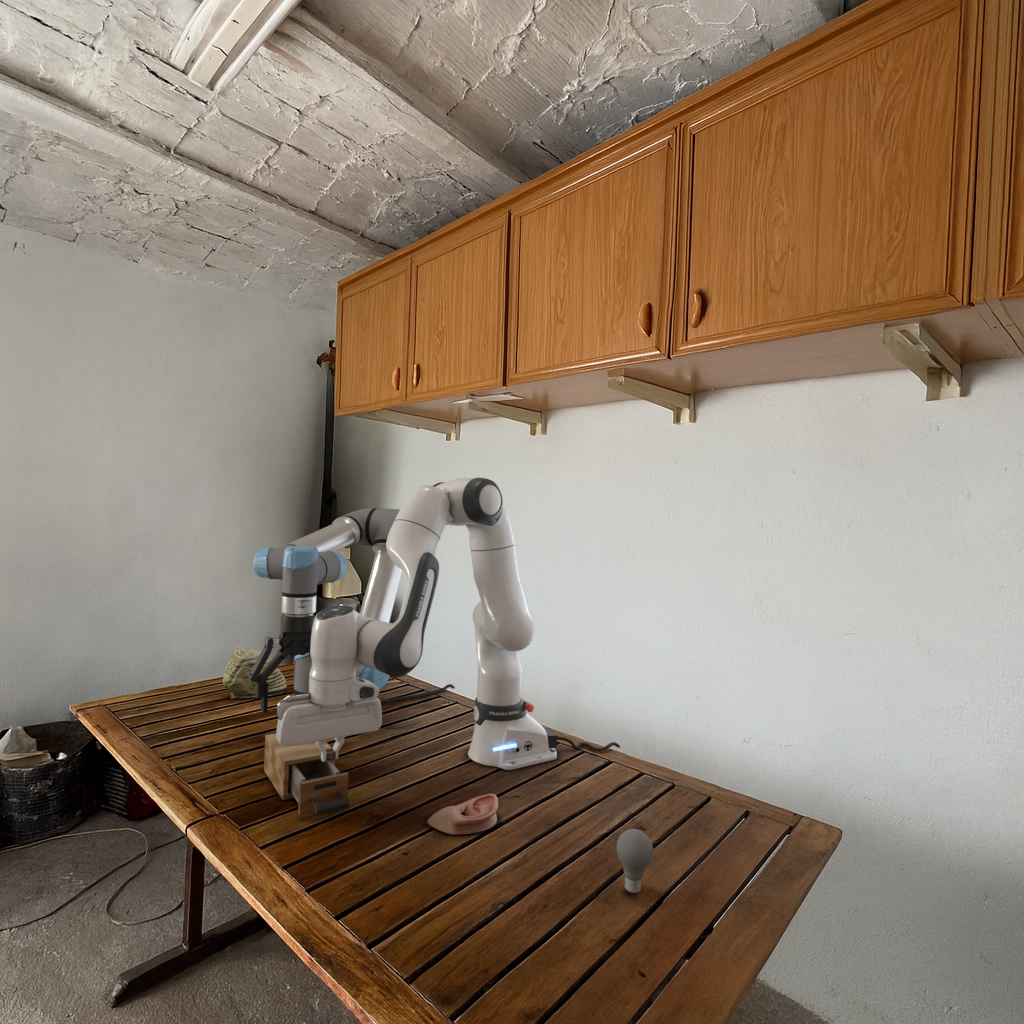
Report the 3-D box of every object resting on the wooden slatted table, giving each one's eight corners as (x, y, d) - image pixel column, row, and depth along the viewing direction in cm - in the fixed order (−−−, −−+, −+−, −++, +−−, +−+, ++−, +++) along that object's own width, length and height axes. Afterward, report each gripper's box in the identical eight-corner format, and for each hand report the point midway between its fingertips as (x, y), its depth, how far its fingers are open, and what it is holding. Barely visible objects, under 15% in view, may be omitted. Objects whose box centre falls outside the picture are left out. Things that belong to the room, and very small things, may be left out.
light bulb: (610, 879, 108) (613, 822, 108) (644, 879, 109) (647, 822, 109) (619, 902, 102) (622, 840, 102) (655, 901, 103) (658, 840, 103)
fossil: (218, 695, 195) (220, 647, 195) (278, 685, 208) (279, 640, 207) (228, 703, 189) (230, 653, 188) (289, 692, 201) (290, 645, 201)
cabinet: (334, 788, 138) (335, 751, 137) (282, 800, 131) (284, 761, 131) (311, 761, 151) (312, 727, 151) (263, 770, 145) (265, 734, 145)
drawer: (356, 815, 125) (358, 784, 125) (307, 828, 119) (309, 795, 119) (323, 775, 142) (324, 748, 141) (279, 785, 136) (280, 756, 136)
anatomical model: (422, 809, 122) (441, 784, 133) (421, 830, 122) (440, 802, 133) (489, 819, 119) (502, 792, 130) (488, 840, 119) (502, 811, 130)
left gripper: (243, 621, 134) (240, 720, 134) (357, 613, 148) (353, 703, 148) (236, 614, 140) (233, 710, 141) (346, 608, 154) (342, 694, 155)
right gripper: (281, 701, 116) (279, 776, 116) (386, 687, 127) (383, 755, 128) (273, 692, 121) (270, 764, 121) (374, 679, 133) (371, 744, 133)
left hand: (295, 706), depth 144 cm, fingers open, 13 cm apart
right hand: (329, 759), depth 125 cm, fingers closed
